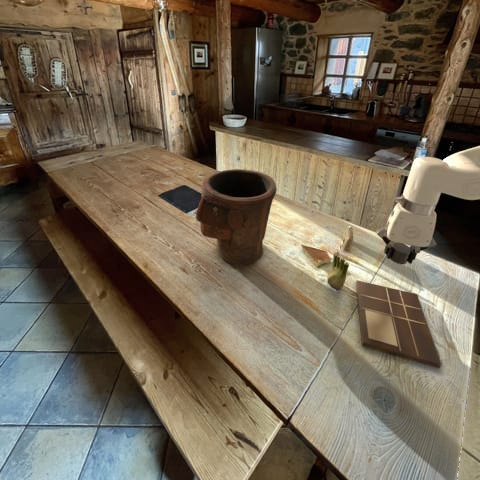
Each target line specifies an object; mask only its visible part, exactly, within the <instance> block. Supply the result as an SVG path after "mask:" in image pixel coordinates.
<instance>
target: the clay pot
mask: <svg viewBox="0 0 480 480" xmlns="http://www.w3.org/2000/svg"><path fill="white" fill-rule="evenodd" d="M277 190H278V189H277V183H276V181H275V179H274V178H273V177H272V176H270V175H269V174H267V173H264V172H262V171H258V170H251V169H244V168H243V169H241V168H231V169H224V170H219V171H216V172H213V173H211V174H209V175H207V176H206V177H204V180H203V182H202V184H201V198H200V201H199V204H198V206H197V209H196V214H195V219H196V221H197V222H199V224H200V225H199V227H200V233H201V234H202V236H204V237H205V238H210V239H215V240H216V245H217V248H216V252H217V254H218V256H219V257H220V259H221V260H223V261H224V262H225V263H228V264H230V265H233V266H246V265H251V264H254V263H255V262H256V261H258V260H260V259H262V256H263V255H264V247H263V245H264V239H265V237H266V232H267V226H268V221H269V217H270V213H271V207H272V204H273V200H274V199H275V196H276V194H277Z"/></svg>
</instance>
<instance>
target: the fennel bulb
mask: <svg viewBox="0 0 480 480" xmlns="http://www.w3.org/2000/svg"><path fill="white" fill-rule="evenodd" d="M349 267H350V264H349V262H347V261H346V259H345V257H342V258H341V256H340V255H339V253H338V254H337V252H334V253H333V257H332V263H331V265H330V267H329V270H328V273H327V278H326V280H327V284H328V285H329V286H330V287H331V288H332V289H335V290H341V289H342V288H343V287H344V285H345V283H346V280H347V275H348V270H349Z"/></svg>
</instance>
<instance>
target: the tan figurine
mask: <svg viewBox="0 0 480 480" xmlns="http://www.w3.org/2000/svg"><path fill="white" fill-rule="evenodd" d="M353 244H354V229H353V227H351V226H350V225H349V226H347V227H346V229H345V231H344V233H343V234H342V241H341V244H340V245H339V247H338V249H337V251H336V253H337V254H338V255H339V252H340V250H341V249H343V250H344V251H346V252H348V251H350V249H351V248H352V246H353Z"/></svg>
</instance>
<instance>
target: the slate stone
mask: <svg viewBox="0 0 480 480" xmlns="http://www.w3.org/2000/svg"><path fill="white" fill-rule="evenodd" d="M410 254H411V249H410V245H409V246H408V244H403V243H398V242H395V243H394V245H393V252H392V255H391V258H390V259H389V260H390V261H392V262H393V263H394V264H397V265H406V264H407V263H408V259H409V256H410Z"/></svg>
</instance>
